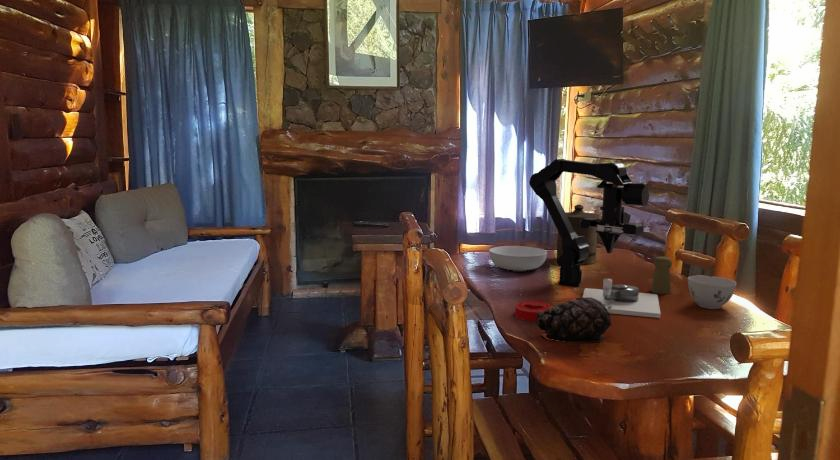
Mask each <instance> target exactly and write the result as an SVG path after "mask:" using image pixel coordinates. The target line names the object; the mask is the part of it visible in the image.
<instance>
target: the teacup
mask: <svg viewBox="0 0 840 460" xmlns="http://www.w3.org/2000/svg"><path fill="white" fill-rule="evenodd" d="M687 286H688V291H689V294H690V296H691V297H692V299H693V301H694V302H695V303H696V304H697V306H699V307H700V308H704V309H709V310H719V309H722V307H723V306H724V305H726V304H727V303H728V302H729V301H730V300H731V298H732V297H733V295H734V293H735V290H736V287H737V281H735V280H732V279H729V278H725V277H722V276H714V275H713V276H709V275H704V274H703V275H700V274H699V275H691V276H690V275H689V276H688V277H687Z"/></svg>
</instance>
